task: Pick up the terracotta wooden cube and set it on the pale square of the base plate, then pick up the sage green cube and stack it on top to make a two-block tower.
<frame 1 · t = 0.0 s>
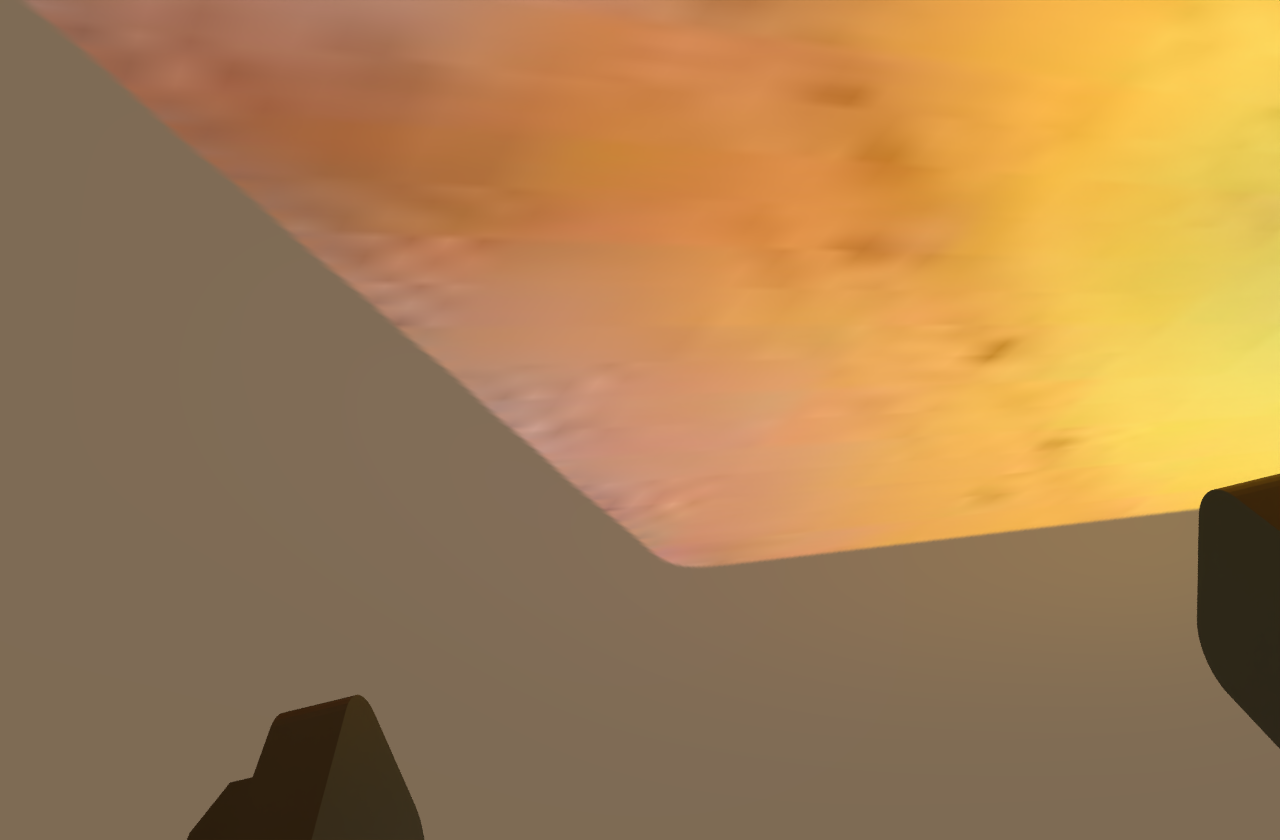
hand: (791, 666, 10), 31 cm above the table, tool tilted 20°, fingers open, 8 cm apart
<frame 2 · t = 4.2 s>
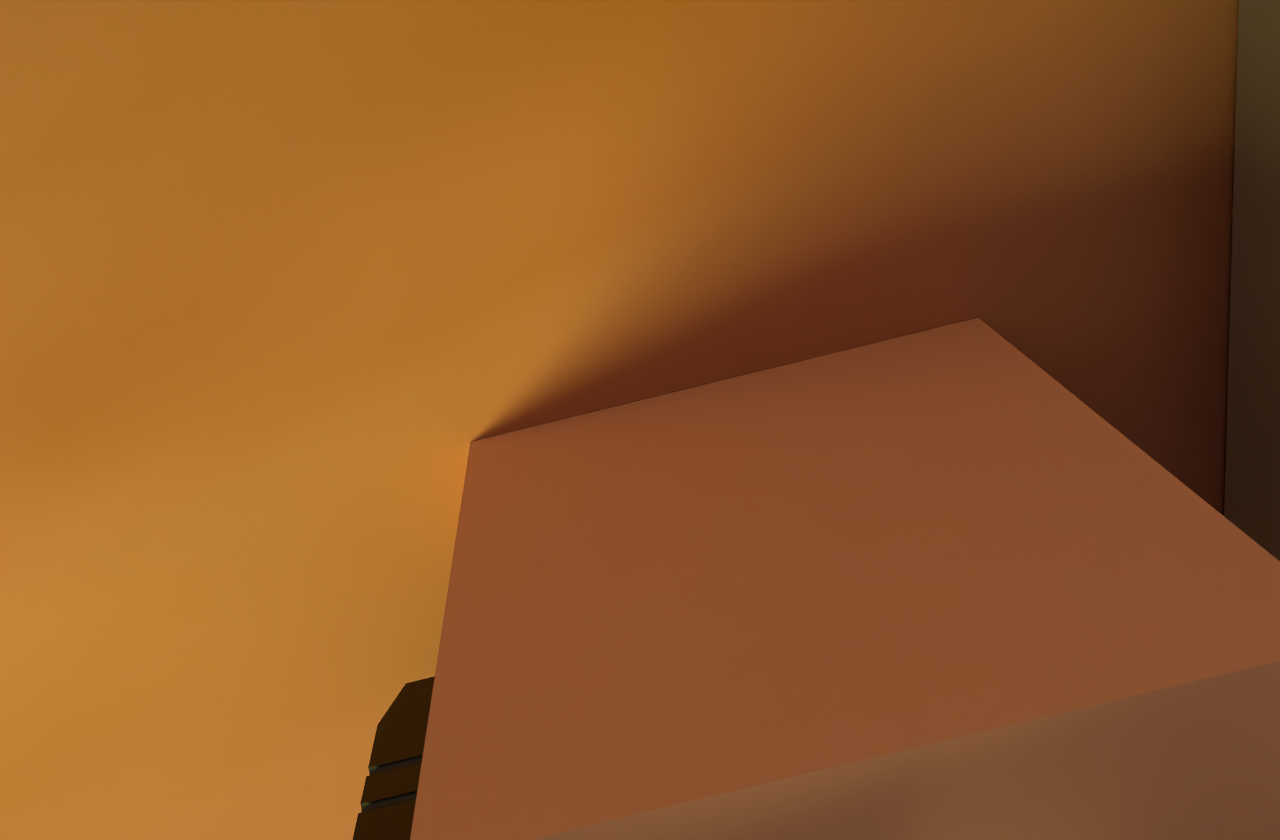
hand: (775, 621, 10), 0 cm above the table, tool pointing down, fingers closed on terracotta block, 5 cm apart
terracotta block: (767, 590, 11), on the table, touching gripper
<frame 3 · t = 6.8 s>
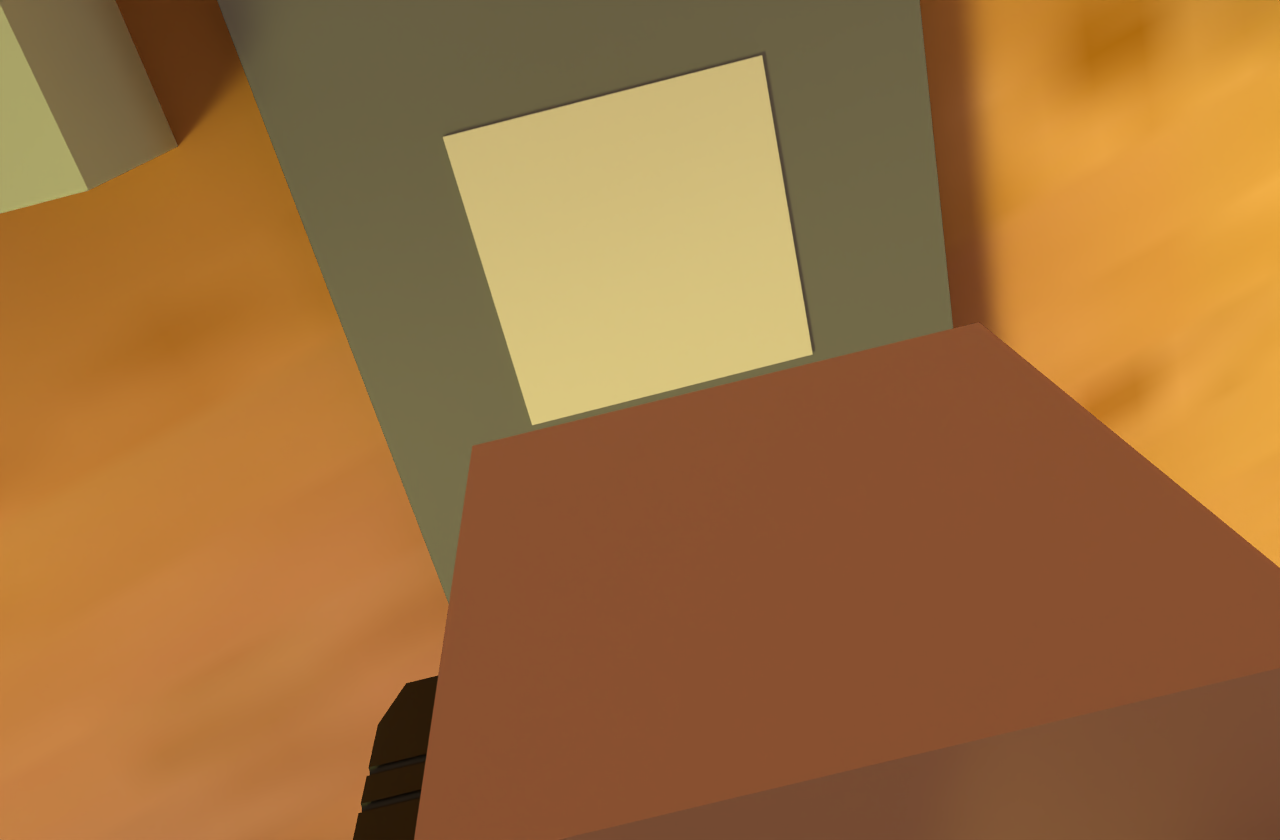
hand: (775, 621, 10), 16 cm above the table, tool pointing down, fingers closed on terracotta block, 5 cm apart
sage block: (18, 59, 21), on the table
base plate: (632, 234, 24), on the table
terracotta block: (768, 594, 11), point 15 cm above the table, touching gripper
when the fingers open (4 cm above the table, at t = 9.5 s): terracotta block drops 1 cm, resting on base plate.
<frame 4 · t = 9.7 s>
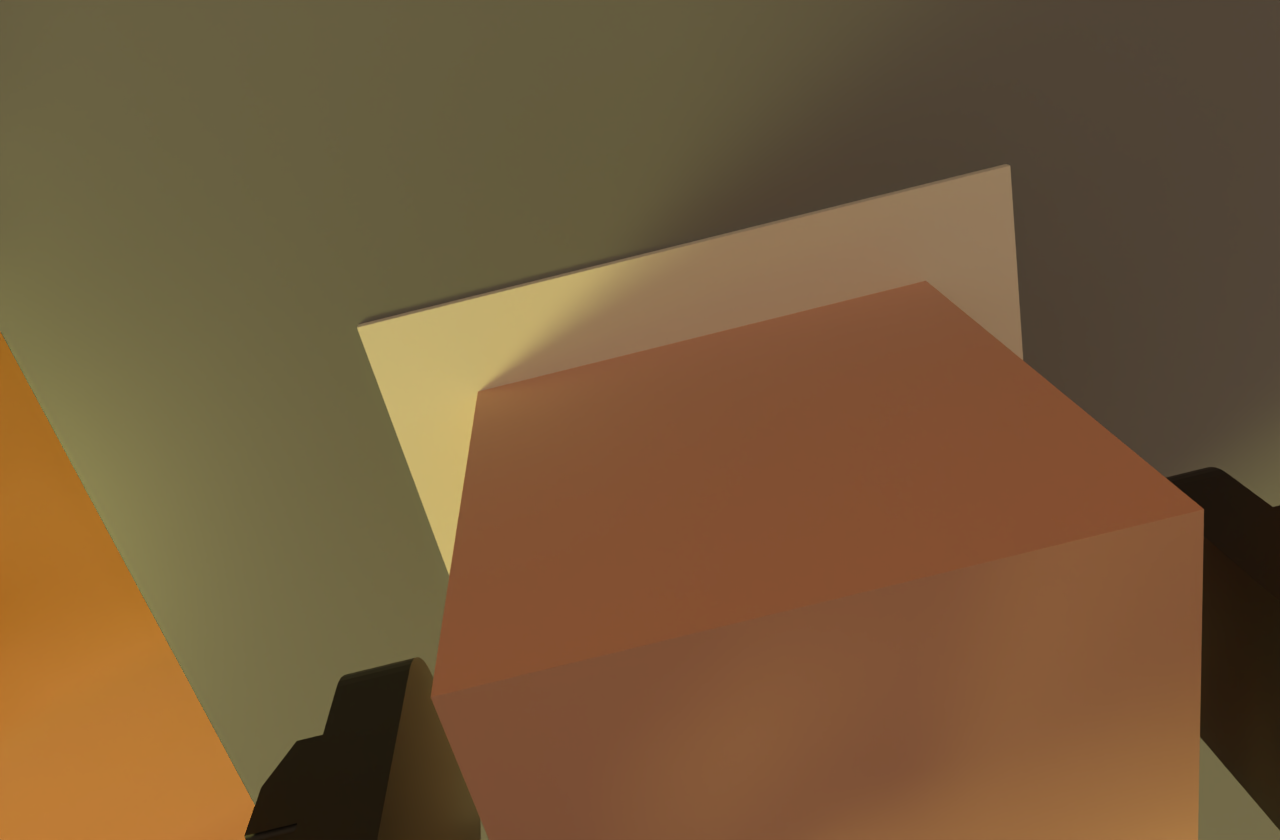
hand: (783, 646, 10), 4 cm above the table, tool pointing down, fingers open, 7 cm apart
base plate: (719, 462, 13), on the table
terracotta block: (742, 528, 12), point 2 cm above the table, touching base plate
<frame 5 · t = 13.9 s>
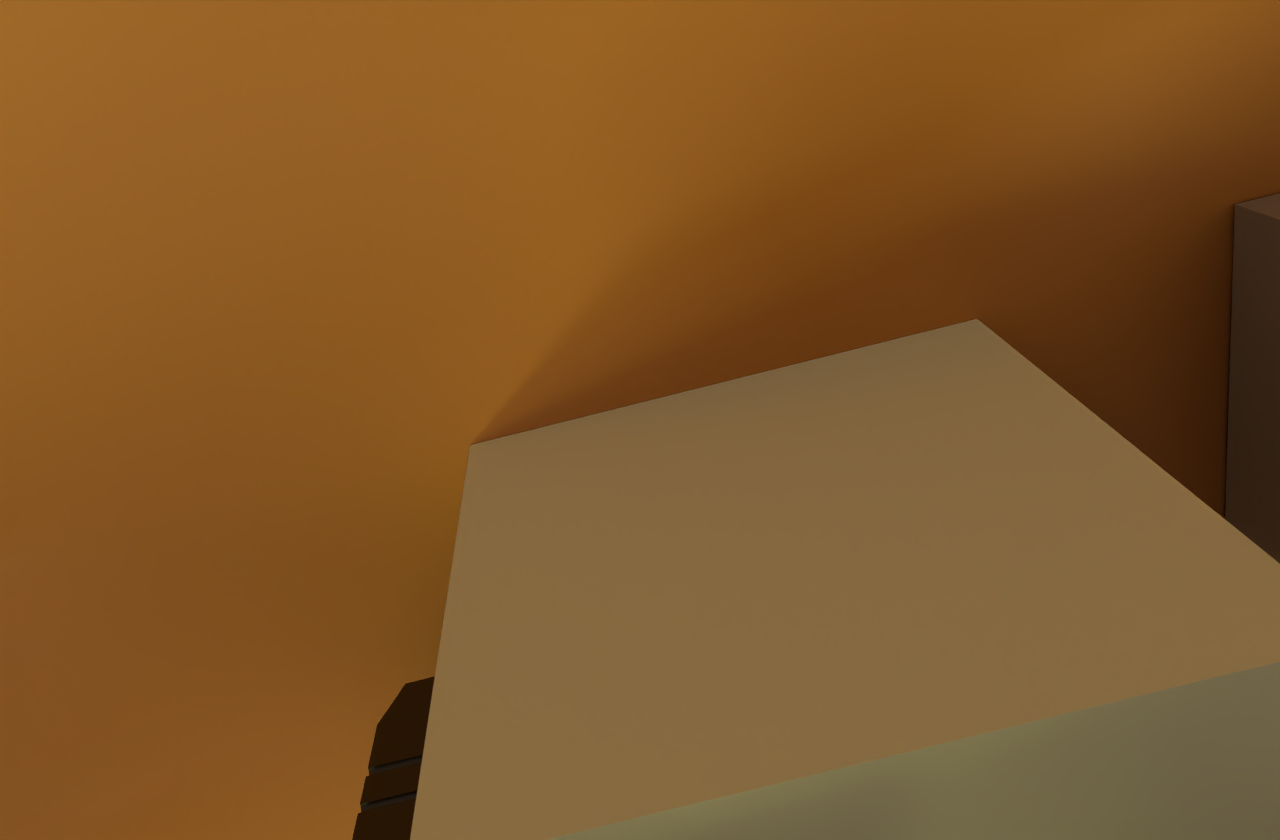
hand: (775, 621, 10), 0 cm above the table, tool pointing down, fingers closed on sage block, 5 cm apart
sage block: (767, 592, 11), on the table, touching gripper
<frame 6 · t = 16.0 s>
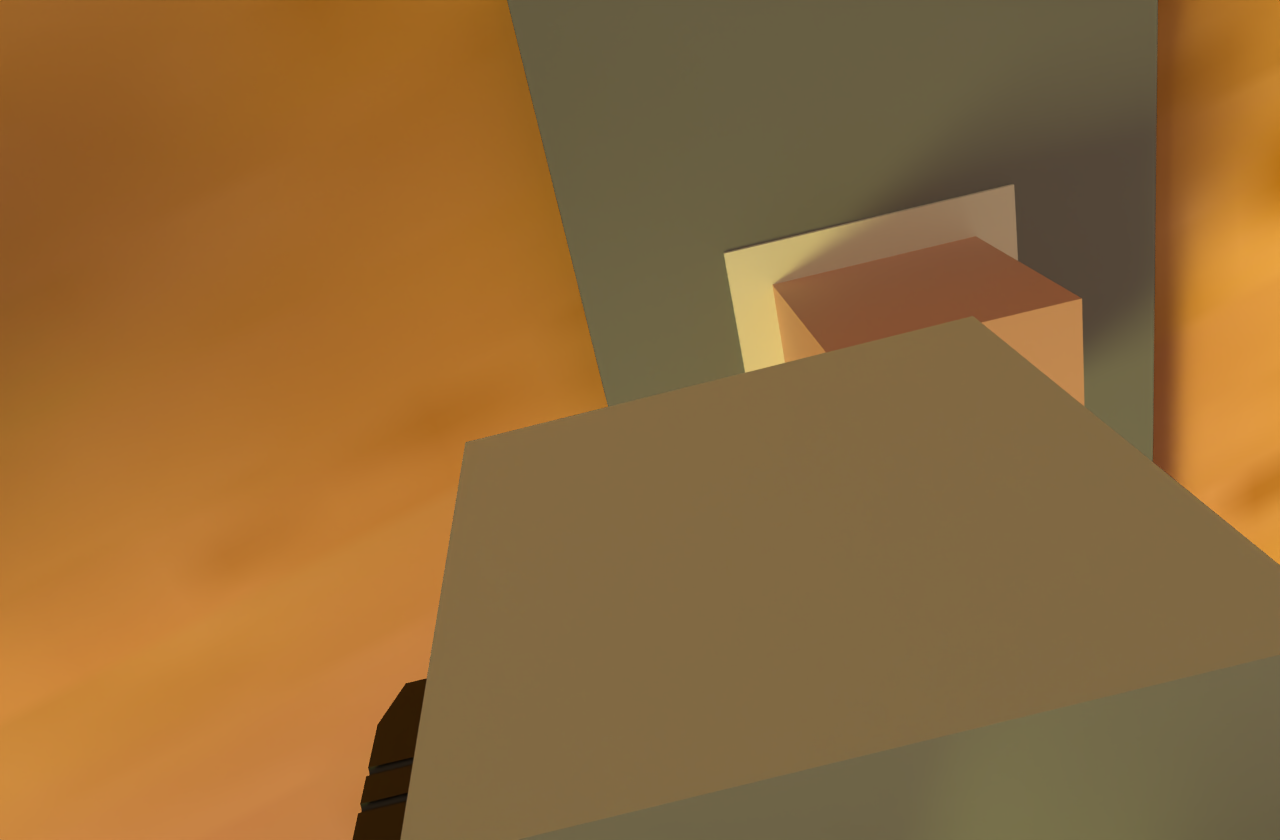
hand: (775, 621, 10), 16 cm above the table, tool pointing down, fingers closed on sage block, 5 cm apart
sage block: (763, 590, 11), point 15 cm above the table, touching gripper
base plate: (863, 332, 26), on the table
terracotta block: (885, 355, 25), point 2 cm above the table, touching base plate
when the fingers open (9 cm above the table, at t = 18.2 s): sage block stays where it is, resting on terracotta block.
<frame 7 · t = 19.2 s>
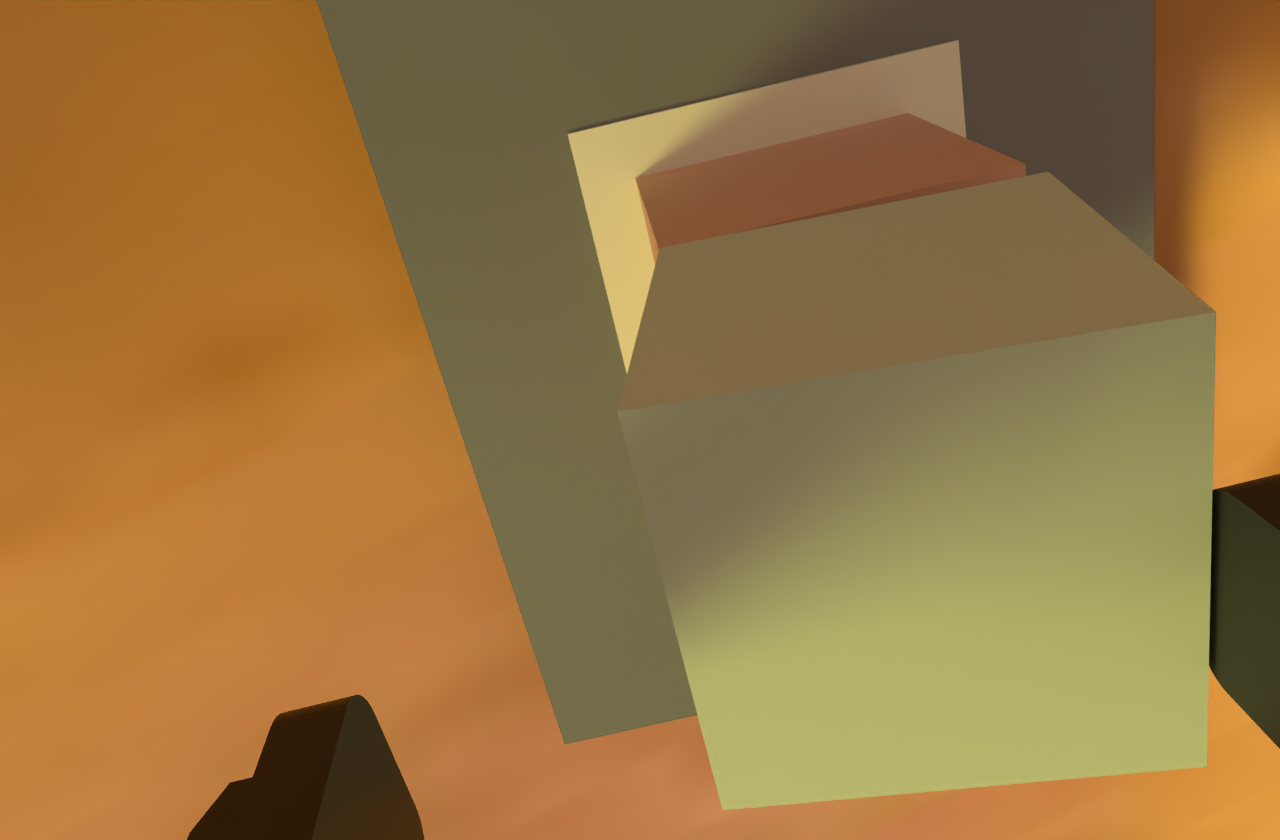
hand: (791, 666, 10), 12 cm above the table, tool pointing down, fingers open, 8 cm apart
sage block: (871, 383, 14), point 7 cm above the table, tilted 10°, touching terracotta block
base plate: (775, 252, 20), on the table
terracotta block: (792, 276, 19), point 2 cm above the table, touching base plate, sage block
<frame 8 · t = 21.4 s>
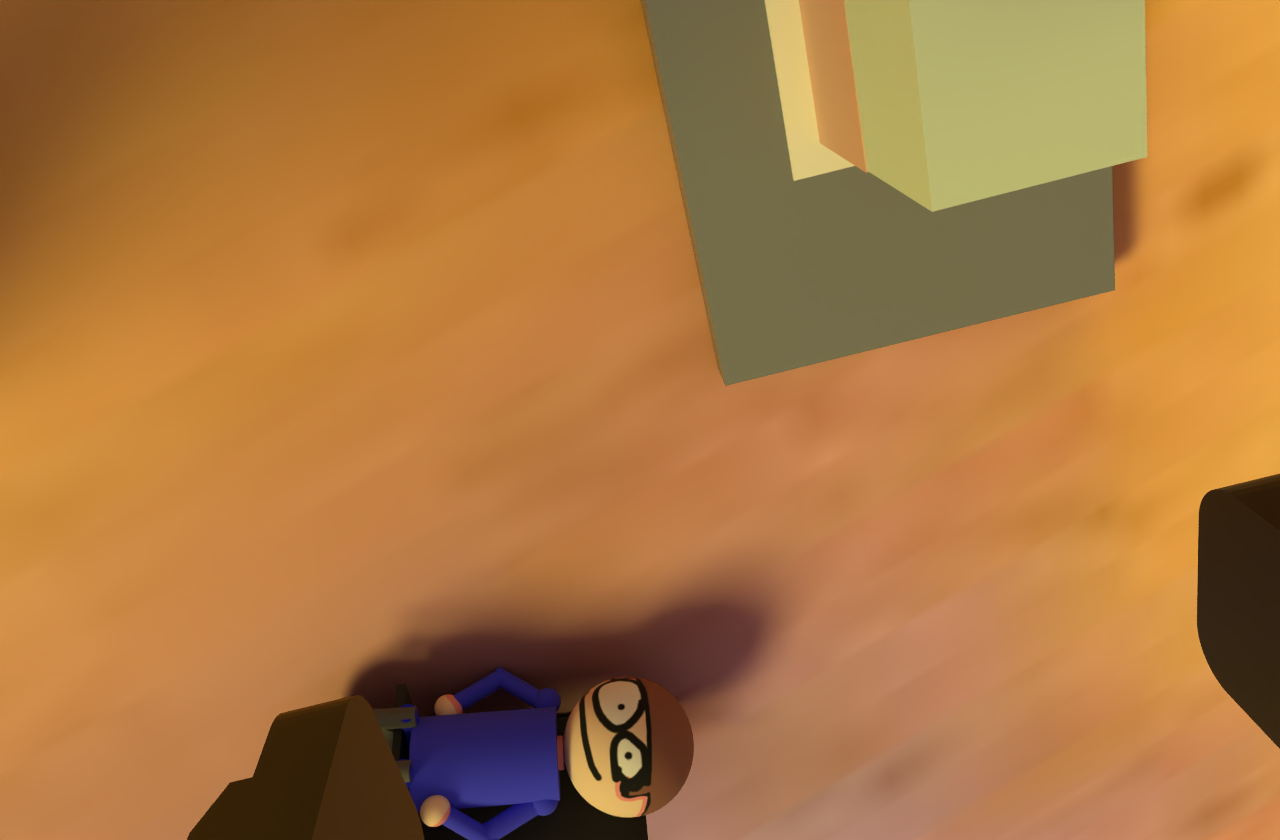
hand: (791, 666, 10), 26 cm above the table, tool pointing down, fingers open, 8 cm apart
sage block: (947, 53, 26), point 7 cm above the table, touching terracotta block
character figurine: (503, 704, 42), on the table
base plate: (870, 38, 32), on the table
terracotta block: (887, 42, 31), point 2 cm above the table, touching base plate, sage block
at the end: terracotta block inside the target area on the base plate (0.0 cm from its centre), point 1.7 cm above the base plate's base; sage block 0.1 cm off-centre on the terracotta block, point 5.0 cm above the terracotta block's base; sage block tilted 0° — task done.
